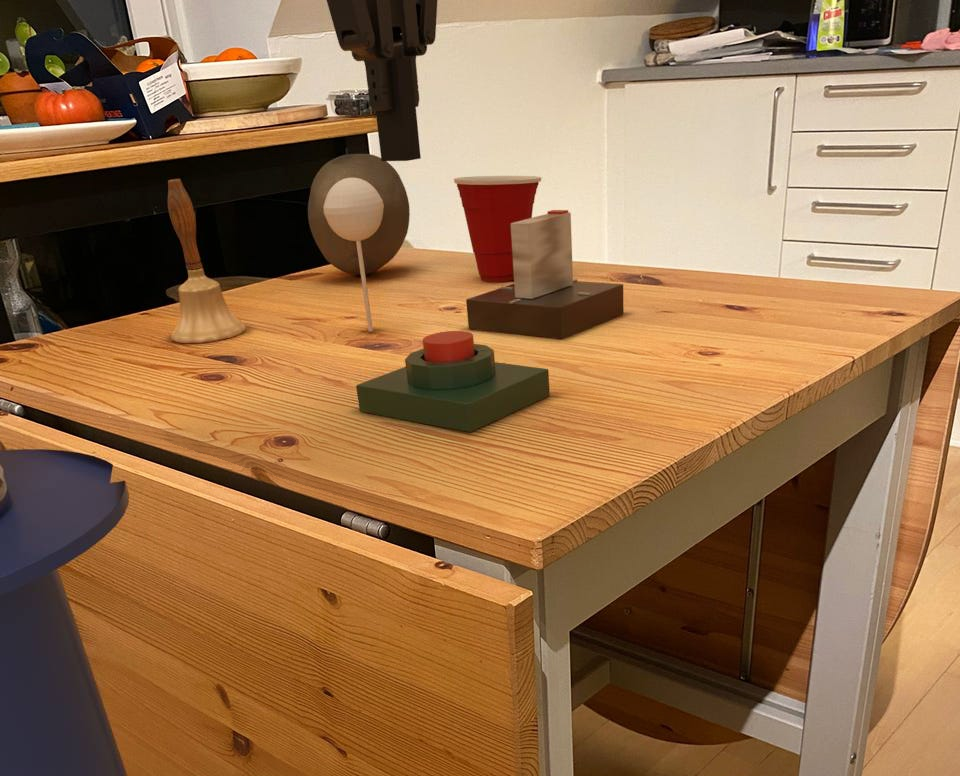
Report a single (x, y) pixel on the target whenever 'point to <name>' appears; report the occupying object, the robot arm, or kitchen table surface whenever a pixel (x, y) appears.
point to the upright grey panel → (542, 254)
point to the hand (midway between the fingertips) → (400, 159)
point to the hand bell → (197, 282)
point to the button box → (454, 390)
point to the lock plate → (546, 310)
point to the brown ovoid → (393, 220)
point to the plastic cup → (495, 218)
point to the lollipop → (355, 218)
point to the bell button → (448, 346)
